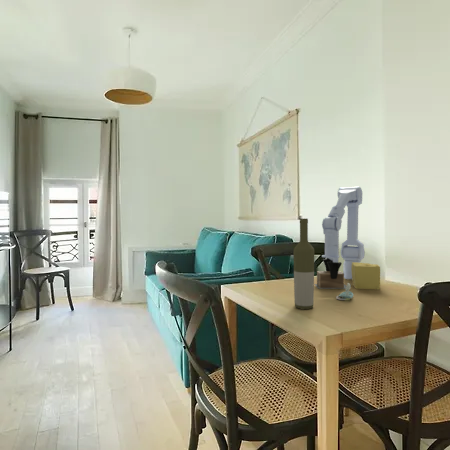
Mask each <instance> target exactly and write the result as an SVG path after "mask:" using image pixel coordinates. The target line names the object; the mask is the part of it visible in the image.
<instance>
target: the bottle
mask: <svg viewBox="0 0 450 450" xmlns="http://www.w3.org/2000/svg"><path fill="white" fill-rule="evenodd" d="M308 224H309V218H299V242H298V243H297V244H296V245H295V247H293V251H292V252H293V253H292V254H293V283H294V284H293V289H294V290H293V292H294V297H293V298H294V307H295V308H297V309H300V310H310V309H313V307H314V301H315V300H314V299H315V298H314V291H315V248H314V247H313V246H312V244H311V243H310V242H309V240H308V239H309V238H308V236H309V232H308V231H309V228H308V227H309V225H308Z"/></svg>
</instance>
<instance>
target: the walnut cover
mask: <svg viewBox="0 0 450 450" xmlns="http://www.w3.org/2000/svg"><path fill="white" fill-rule="evenodd" d="M316 284H317V285H318V287H319V288H344V284H345V278H344V273H343V271H341V270H339V271H338V275H337V279H331V276H330V271H326V270H324V271H323V270H317V271H316Z"/></svg>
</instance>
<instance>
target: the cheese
mask: <svg viewBox="0 0 450 450" xmlns="http://www.w3.org/2000/svg"><path fill="white" fill-rule="evenodd" d="M351 271H352V279H351V280H352V285H353V287H354V289H356V290H357V289H358V290H359V289H360V290H364V289H365V290H381V266H380V265H379V264H376V263H375V264H373V263H366V262H361V263H359V262H352V269H351Z"/></svg>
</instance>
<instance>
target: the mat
mask: <svg viewBox="0 0 450 450" xmlns="http://www.w3.org/2000/svg"><path fill="white" fill-rule="evenodd" d="M346 286H347V284H345V283H344V288H319V287H318V285H317V283H314V287H316V288H317V289H319V290H320V289H329V290H331V289H332V290H333V289H334V290H337V289H338V290H339V289H340V290H346Z"/></svg>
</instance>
